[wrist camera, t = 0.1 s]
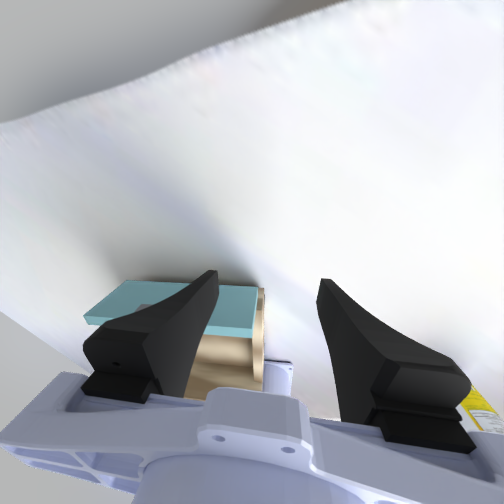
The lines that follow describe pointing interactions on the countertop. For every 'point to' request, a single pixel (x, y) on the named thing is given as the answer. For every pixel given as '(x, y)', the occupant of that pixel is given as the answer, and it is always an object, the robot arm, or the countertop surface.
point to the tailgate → (149, 293)
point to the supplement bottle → (479, 414)
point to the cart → (229, 360)
